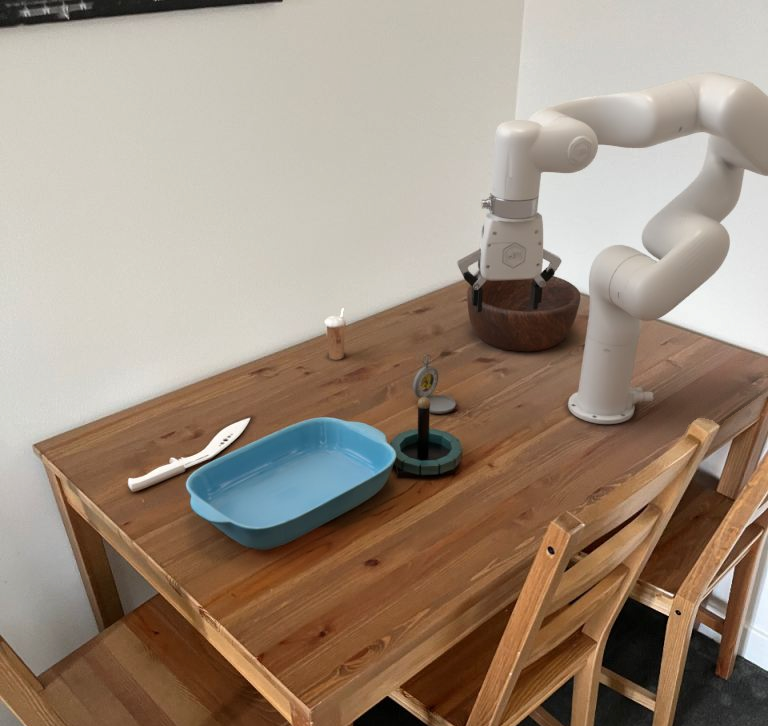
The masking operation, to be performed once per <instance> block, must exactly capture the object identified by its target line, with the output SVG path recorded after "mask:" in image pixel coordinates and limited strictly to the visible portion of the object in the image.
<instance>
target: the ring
mask: <svg viewBox="0 0 768 726" xmlns="http://www.w3.org/2000/svg"><path fill="white" fill-rule="evenodd" d="M417 438H418V428H413V429H407V430H405V431H403V432H400V433H398V434H396V435H395V437H394V438H393V439H392V440H391V441H390V442H389V445H390V446H392V447H393V449H394V450H395V452H396V460H395V462H394V464H393V465H396V466H397V467H398V468H400V469H401V470H402V469H403V471H406V472H410V473H414V474H418V475H419V474H420V473H421V475H431V474H438V472H439V473H440V474H441V473H444V472H446V471H449V470H451V469H454V467H455V468H457V466H458V465H459V463H460V462H461V461H462V459H463V446H462V443H461V440H460V439H459V438H458V437H457V436H455V435H454V434H452V433H450V432H448V431H445V430H441V429H437V428H433V427H432V428H430V427H429V442H433V443H438V444H442V445H443V446H445V447H446V448H447V449H449V450H450V453H449V454H448V455H447V456H445V457H442V458H440V459H437V460H427V461H421V460H417V459H413V458H409V457H408V456H406V455H405V454H404V453H402V452H401V450H402V449H403V448H404V447H405V446H407V445H410V444H412V443H415V442H417ZM396 466H395V467H396Z"/></svg>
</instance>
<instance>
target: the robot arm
mask: <svg viewBox="0 0 768 726" xmlns="http://www.w3.org/2000/svg"><path fill="white" fill-rule="evenodd" d="M699 133H704V134H705V133H706V134H708V139H707V145H706V146H707V147H706V153H705V157H704V162H703V164H702V167H701V169H700V171H699V173H698V175H697V176H696V177H695V178H694V179H693V180H692V181H691V182H690V183H689V184H688V186H687V187H686V188H684V189H683V190H682V191H681V192H680V193H679V194H677V196H675V197H674V198H673V199H672V200H671V201H669V202H668V203H667V204H666V205H665V206H664V207H662V208H661V209H660V210H658V212H657V213H656V214H654V216H652V217H651V219H649V220H648V221H647V222H646V224H645V226H644V228H643V229H642V233H641V243H642V246H643V248H644V249H645V250H646V251H647V252H648V254H650V255H651V256H652V257H654V258H656V259H657V260H655V259H653V258H652V257H651V256H649V255H647V254H645V253H643V252H642V251H640V250H638V249H636V248H634V247H631V246H628V245H625V244H613V245H610V246H607V247H605V248H603V249H602V250H601V251H600V252H599V253H598V254H597V255H596V256H595V257H594V259H593V260H592V263H591V266H590V269H589V274H588V275H589V276H588V292H589V293H588V294H589V308H588V309H589V311H588V319H587V320H588V321H587V326H586V335H585V340H584V341H585V342H584V348H583V354H582V362H581V367H580V375H579V383H578V391H576V392H574V393H572V395H570V397H569V398H568V401H567V405H568V406H567V407H568V410H569V411H570V412H571V414H572V415H574V416H575V417H576V418H578V419H580V420H583V421H585V422H588V423H592V424H598V425H616V424H621V423H624V422H626V421H629V420H630V419H631V418H633V416H634V413H635V409H636V408H635V405H636V404H637V403H641V402H642V403H648V402H653V400H654V393H653V392H652V391H643V388H642V387H639V386H637V387H631V383H632V378H633V375H634V373H633V372H634V368H635V363H636V357H637V352H638V345H639V340H640V336H641V330H642V321H644V322H650V321H651V322H653V321H656V320H658V319H660V318H662V317H664V316H666V315H667V314H669V313H670V312H671V311H673V310H674V309H675V308H677V306H679V305H680V304H681V303H682V302H683V301H684V300H686V299H687V298H688V297H690V296H691V294H693V293H694V292H695V291H696V290H698V289H699V288H700V287H701V286H702V285H703V284H705V283H706V282H707V281H708V280H709V279H710V278H711V277H712V276H714V275H715V274H716V273H717V272H718V271H719V269H720V268H721V267H722V265H723V264H724V262H725V260H726V259H727V256H728V254H729V250H730V245H731V239H730V234H729V232H728V230H727V228H726V227H725V226H724V225H723V224H722V223H721V222H722V221H724V220H725V219H726V218H727V217H728V216H729V215H730V214H731V213H732V211H733V210H734V209H735V208H736V206H737V204H738V202H739V199H740V196H741V193H742V188H743V180H744V176H745V170H747V171H749V172H752V173H754V174H757V175H760V176H763V177H764V176H765V177H768V95H767V94H766V93H765V92H764V91H763V90H762V89H760V87H758V86H757V85H755V84H754V83H753V82H751V81H748V80H746V79H742V78H739V77H734V76H731V75H726V74H723V73H719V72H701V73H697V74H694V75H693V74H692V75H690V76H686V77H683V78H680V79H676V80H673V81H669V82H666V83H661V84H659V85H655V86H652V87H651V86H650V87H648V88H645V89H644V88H643V89H640V90H634V91H625V92H624V91H623V92H617V93H612V94H611V93H610V94H602V95H601V94H600V95H595V96H586V97H585V96H584V97H579V98H574V99H570V100H567V101H563V102H559V103H556V104H552V105H548V106H545V107H542V108H541V109H539V110H537V111H535V112H534V113H532V115H530V116H529V117H528V119H527V120H526V119H512V120H506V121H503V122H501V123H500V124H499V125H498V126H497V128H496V130H495V133H494V143H493V145H494V146H493V158H492V159H493V161H492V173H491V176H492V177H491V190H490V192H491V193H489V196H488V198H486V199H482V200H481V203H480V204H481V205H480V206H481V209H486V210H488V212H486V213H485V217H484V221H483V224H482V229H481V234H480V241H479V247H478V249H477V250H475V251H473V252H472V253H470V254H468V255H466V256H464V257H462V258H460V259H458V261H457V263H456V264H457V267H458V269H459V270H460V273H461V275H462V276H463V279H464V280H465V281H466V282H467V283H468V285H471V286H472V306H475V308H476V311H477V312H481V311H482V299H483V290H482V288H481V286H482V285H483V284H484V283H485V282H486V281H487V280H492V281H496V280H522V279H534V281H532V283H531V291H530V301H529V303H530V305H531V307H532V308H533V309H534V310H537V309H538V303H541V298H542V288H543V287H544V286H545V284H546V282H547V281H548V280H549V279H551V278H552V277H553V276H555V274H556V271H557V270H558V268H559V267H560V266H561V264H562V259H561V257H560V256H559V255H557V254H554V253H553V252H551V251H549V250H548V249H545V248H544V221H543V216H542V215H543V214H541V213H539V212H538V210H539V209H538V208H539V199H540V189H541V178H542V174H543V173H554V174H555V173H558V174H574V173H577V172H580V171H583V170H584V169H586V168H587V167H589V166H590V165H591V163H592V162H593V161H594V159H595V158H596V156H597V154H598V150H599V145H600V146H610V147H611V146H612V147H618V148H624V149H625V148H626V149H647V148H651V147H654V146H657V145H659V144H660V145H661V144H663V143H666V142H667V143H668V142H670V141H673V140H677V139H680V138H682V137H688V136H691V135H694V134H699ZM544 261H547V262H548V266H547V267H546V268H544V269H543V262H544ZM476 263H477V268H478V270H477V271H476V272H475V273H474V275H473V274H472V272H470V270H469V267H470V266H472V265H473V264H476Z"/></svg>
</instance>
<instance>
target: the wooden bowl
mask: <svg viewBox="0 0 768 726" xmlns="http://www.w3.org/2000/svg"><path fill="white" fill-rule="evenodd" d="M532 281H534V279H522V280H496V281H492V280H487V281H486V282H485V283H484V284H483V285H482V286H481V288H482V290H483V299H482V311H481V312H477V311H476V308H475V306H472V286H471V285H470V284H468V287H467V290H466V300H467V310H468V311H467V312H468V316H469V317H468V319H469V321H470V324H471V326H472V329H473V332H474V333H475V334H476V336H477V337H478V338H479V339H480V340H481V341H482V342H484V343H486V344H488V345H490V346H492V347H495V348H498V349H501V350H505V351H506V350H507V351H512V352H537V351H543V350H547V349H550V348H552V347H555V346H557V345H558V344H559V343H560V344H561V342H562V341H563V340H565V338H566V337H567V336H568V334H569V332H570V331H571V329H572V327H573V325H574V323H575V320H576V317H577V314H578V312H579V311H578V310H579V307H580V303H581V299H582V298H581V293H580V290H579V288H578V287H576V285H574V284H572V283H571V282H569V281H568V280H566V279H564V278H561V277H558V276H555V275H554V276H553V277H552V278H551V279H549V280H548V281H547V282H546V284H545V286H544V287H543V288H542V298H541V303H538V309H537V310H534V309H533V308H532V307H531V305H530V303H529V301H530V291H531V283H532Z"/></svg>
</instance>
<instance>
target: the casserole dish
mask: <svg viewBox="0 0 768 726" xmlns="http://www.w3.org/2000/svg"><path fill="white" fill-rule="evenodd" d="M395 460H396V452H395V450H394V449H393V447H392V446H390V443H388V441H387V436H386V434H385V433H384V432H383V431H381V430H380V429H377V427H374V426H371V425H369V424H368V423H364V422H360V421H350V420H349V421H347V420H344V419H340V418H336V417H328V416H327V417H325V416H323V417H313V418H308V419H306V420H303V421H299V422H297V423H294V424H291V425H289V426H287V427H283V428H281V429H279V430H277V431H275V432H273V433H270V434H268V435H266V436H263V437H261V438H259V439H257V440H255V441H253V442H251V443H248V444H246V445H244V446H241V447H240V448H239V447H238V448H237V449H235V450H233V451H230V452H227V454H224V455H222V456H220V457H218V458H216V459H214V460H212V461H210V462H208V463H206V464H204V465H202V466H201V467H199V468H198V469H196V470H194V471H193V472H192V473H191V474H190V475H189V476H188V478H187V479H186V482H185V489H186V490H187V493H188V494H189V496H190V503H189V504H190V508H191V510H192V511H193V512H194V513H195V514H196V515H197V516H199V517H200V518H201V519H203V520H205V521H207V522H209V523H210V524H212V525H213V526H214V527H215V528H217V529H218V530H219V531H220V532H222V533H223V534H225V535H226V536H227V537H229V539H232V540H233V541H235V542H237V543H238V544H240V545H242V546H243V547H245V548H249V549H251V550H258V551H266V550H271V549H275V548H278V547H281V546H283V545H286V544H288V543H291V542H292V541H295V540H297V539H299V538H301V537H303V536H305V535H306V534H308V533H310V532H312V531H314V530H316V529H317V528H319V527H321V526H323V525H325V524H327V523H328V522H330V521H332V520H334V519H337V518H338V517H340V516H341V515H343V514H346V513H347V512H349V511H350V510H353V509H354V508H356V507H358V506H359V505H361V504H363V503H365V502H366V501H368V500H370V499H371V498H372V497H374V496H375V495H376V494H377V493H378V492H380V491H381V490H382V489H383V487H384V486H385V485H386V482H387V481H388V479H389V477H390V474H391V472H392V470H393V466H394V465H395V464H394V462H395Z"/></svg>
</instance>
